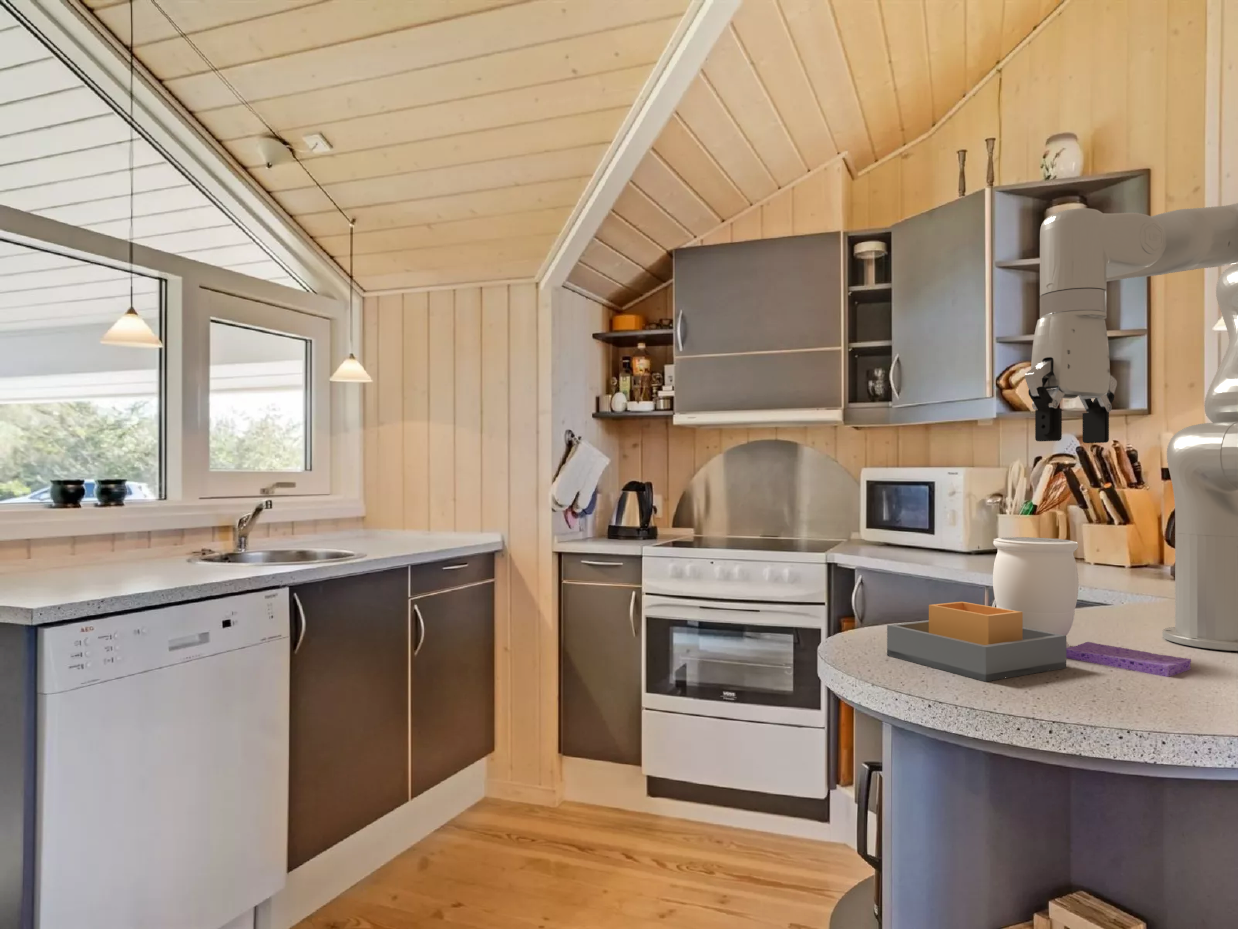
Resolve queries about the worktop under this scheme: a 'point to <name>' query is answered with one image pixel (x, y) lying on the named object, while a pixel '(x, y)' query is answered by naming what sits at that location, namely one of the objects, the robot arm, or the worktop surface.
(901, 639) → the grey square tray
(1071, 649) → the sponges
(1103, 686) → the worktop surface
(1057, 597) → the jar
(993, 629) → the small crate
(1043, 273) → the robot arm
